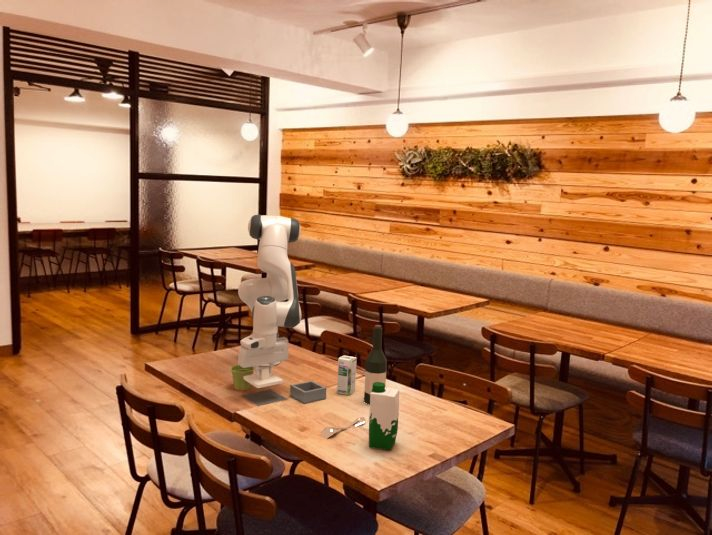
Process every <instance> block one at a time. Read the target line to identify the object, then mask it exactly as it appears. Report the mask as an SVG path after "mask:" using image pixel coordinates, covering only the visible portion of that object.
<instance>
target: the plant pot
mask: <svg viewBox="0 0 712 535" xmlns="http://www.w3.org/2000/svg"><path fill="white" fill-rule="evenodd" d="M229 370H230V371H231V375H232V382H233V389H234V390H235V391H248V390H250V389H251V385H252V384H250V383H249V382H247V381H246V380H244V376H247V375H252V374H254V371H255V369H254V368H253V366H252V367H246V368H243V367H241V366H240V365H239V364H237V365H233V366H231V367H230V369H229Z"/></svg>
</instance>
